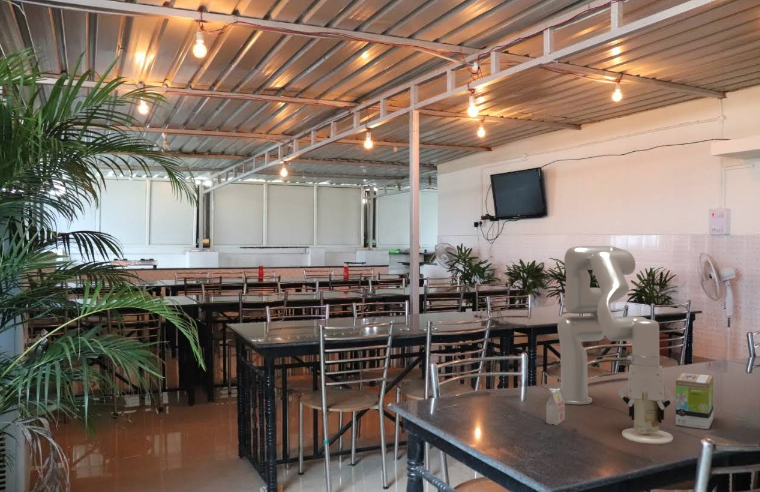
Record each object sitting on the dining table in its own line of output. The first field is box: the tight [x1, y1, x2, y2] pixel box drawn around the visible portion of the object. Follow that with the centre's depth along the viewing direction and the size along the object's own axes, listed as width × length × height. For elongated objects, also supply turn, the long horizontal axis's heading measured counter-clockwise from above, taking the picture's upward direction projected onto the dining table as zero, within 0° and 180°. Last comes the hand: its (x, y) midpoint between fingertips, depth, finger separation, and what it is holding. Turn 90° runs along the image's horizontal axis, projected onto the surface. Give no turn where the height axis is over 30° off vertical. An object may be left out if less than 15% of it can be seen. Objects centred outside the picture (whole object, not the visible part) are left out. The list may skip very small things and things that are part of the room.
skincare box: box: [633, 392, 660, 434], centre depth 187 cm, size 6×4×12 cm
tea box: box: [675, 372, 714, 430], centre depth 203 cm, size 15×10×15 cm, turn 148°
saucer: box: [621, 427, 674, 445], centre depth 187 cm, size 14×14×1 cm
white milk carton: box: [545, 390, 566, 426], centre depth 205 cm, size 4×7×10 cm, turn 143°
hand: (646, 420), depth 187 cm, fingers closed on skincare box, 6 cm apart
